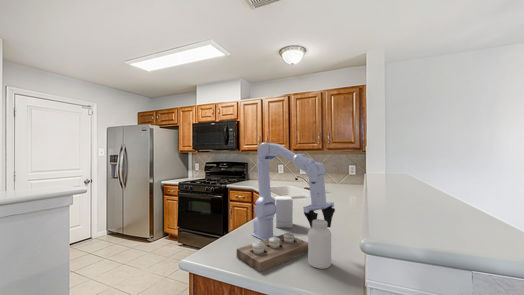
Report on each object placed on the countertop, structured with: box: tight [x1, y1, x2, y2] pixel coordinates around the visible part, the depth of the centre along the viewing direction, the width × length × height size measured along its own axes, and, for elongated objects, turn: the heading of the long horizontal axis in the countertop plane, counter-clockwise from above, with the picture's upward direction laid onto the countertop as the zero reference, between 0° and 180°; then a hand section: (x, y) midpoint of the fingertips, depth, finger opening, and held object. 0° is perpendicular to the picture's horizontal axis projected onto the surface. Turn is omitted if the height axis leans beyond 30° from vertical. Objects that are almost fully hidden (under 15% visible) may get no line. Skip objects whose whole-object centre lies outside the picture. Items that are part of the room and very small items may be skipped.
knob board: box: [236, 233, 308, 273], centre depth 89 cm, size 14×26×3 cm, turn 129°
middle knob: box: [269, 237, 280, 250], centre depth 89 cm, size 4×4×3 cm
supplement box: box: [274, 195, 294, 229], centre depth 124 cm, size 9×9×15 cm
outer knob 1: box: [252, 241, 265, 256], centre depth 84 cm, size 4×4×3 cm
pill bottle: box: [307, 218, 332, 270], centre depth 81 cm, size 8×8×15 cm
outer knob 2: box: [282, 232, 295, 244], centre depth 94 cm, size 4×4×3 cm
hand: (321, 228), depth 88 cm, fingers open, 7 cm apart
